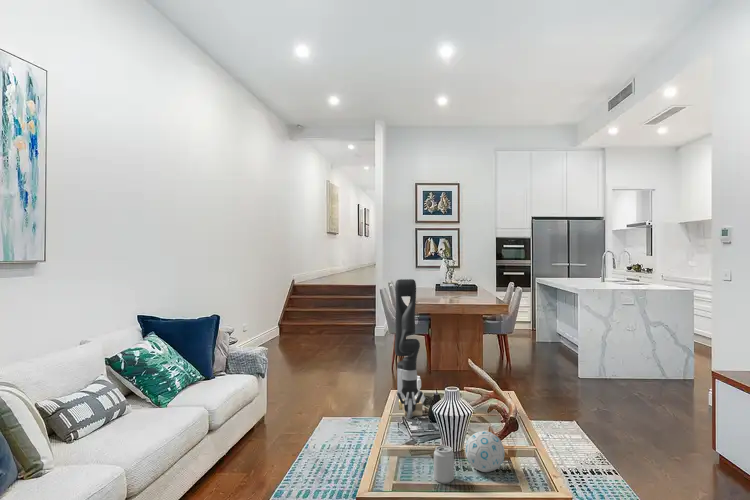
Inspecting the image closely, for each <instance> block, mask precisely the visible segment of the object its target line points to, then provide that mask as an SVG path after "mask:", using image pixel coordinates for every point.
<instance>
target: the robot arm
mask: <svg viewBox="0 0 750 500" xmlns="http://www.w3.org/2000/svg"><path fill="white" fill-rule="evenodd" d="M394 288H395V289H394V291H395V317H394V318H395V320H394V321H395V323H394V324H395V338H394V353H395V354H394V355H396V356H397V357H398V356H399V357H404V358H402V360H400V361H398V362H397V364H396V367H397V368H396V369H397V373H396V374H397V375H396V377H397V384H396V385H397V392H396V395H397V398H398V400H399V399H400V402H401V404H404V410H405V411H406V412H408V409H407V401H408V398H412V399H413V412H414V411H415V410H416V404H417V403H419V401H420V399H421V397H422V394H423V395H424V393H423V391H422V390H420V391H418V389H417V376H418V371H417V360H418V359H417V358H418V355H419V352H420V347H421V344H420V341H419V340H418V339H417V338H407V337H408V336H413V335H415V334H416V306H417V305H416V303H417V283H416V280H415V279H412V278H409V279H406V278H405V279H403V278H401V279H400V278H399V279H397V280H396V281H395V287H394ZM403 297H409V303H408V305H407V304H406V303H405V302H404V300H403ZM417 392H418V397H417V399H416V400H415V395H416V394H417ZM402 399H404V401H403V400H402Z"/></svg>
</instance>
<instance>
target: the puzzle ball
mask: <svg viewBox="0 0 750 500" xmlns="http://www.w3.org/2000/svg"><path fill="white" fill-rule="evenodd" d="M464 452H465V453H464V454H465V456H466V459H467V461H468V463H469V464H470V466H472V468H474V469H476V470H478V471H480V472H482V473H490V472H493V471H495V470H497V469H499V468H500V467H501V466H502V464H503V462H504V459H505V447H504V445H503V443H502V441H501V438H500V437H499V436H497V435H496V434H494V433H492V432H491V431H486V430H483V431H476V432H475V433H473V434H472V435H471V436H470V437H469V438H468V439H467V441H466V443H465V451H464Z"/></svg>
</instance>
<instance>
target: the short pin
mask: <svg viewBox="0 0 750 500" xmlns="http://www.w3.org/2000/svg"><path fill="white" fill-rule="evenodd" d="M398 409H399V410H401V411H402V404H401V402H400V399H399V398H398Z"/></svg>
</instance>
